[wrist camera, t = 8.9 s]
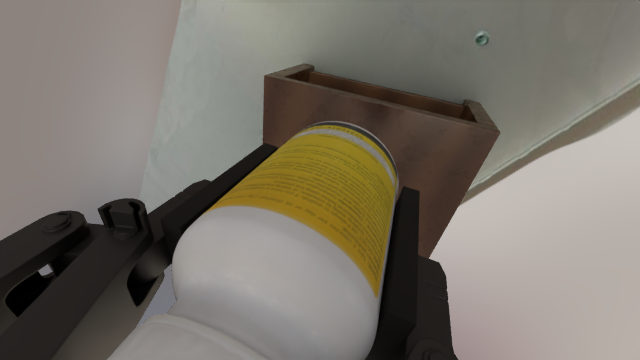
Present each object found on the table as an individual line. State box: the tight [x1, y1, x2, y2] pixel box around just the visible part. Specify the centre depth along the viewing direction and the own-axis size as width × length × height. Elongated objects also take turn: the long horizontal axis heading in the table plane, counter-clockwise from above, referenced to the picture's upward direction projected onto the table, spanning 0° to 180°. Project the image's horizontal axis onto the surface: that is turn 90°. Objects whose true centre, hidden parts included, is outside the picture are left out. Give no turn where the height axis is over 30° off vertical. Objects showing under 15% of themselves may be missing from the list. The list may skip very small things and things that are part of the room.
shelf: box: [263, 64, 500, 259], centre depth 32 cm, size 22×16×10 cm
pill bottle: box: [107, 121, 399, 360], centre depth 10 cm, size 6×6×12 cm
